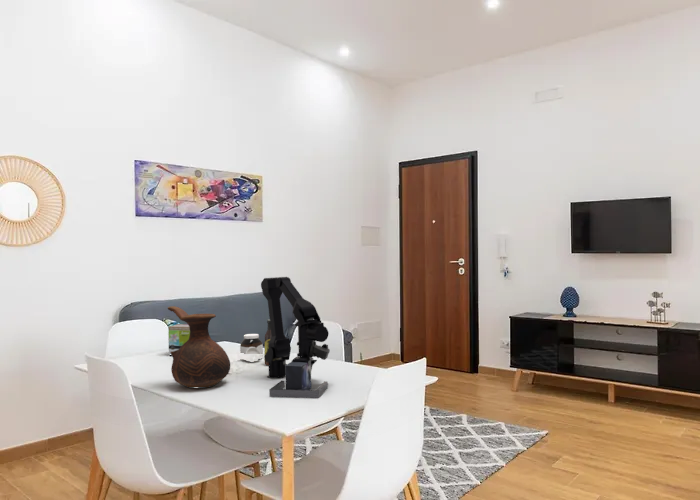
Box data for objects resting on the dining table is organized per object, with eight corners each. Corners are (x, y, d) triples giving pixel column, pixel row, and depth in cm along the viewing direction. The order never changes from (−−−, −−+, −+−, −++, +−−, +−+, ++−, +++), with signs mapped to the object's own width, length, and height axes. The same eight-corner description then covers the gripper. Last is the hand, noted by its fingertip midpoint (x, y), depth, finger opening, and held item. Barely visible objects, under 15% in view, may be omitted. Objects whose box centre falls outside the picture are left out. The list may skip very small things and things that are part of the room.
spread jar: (254, 357, 261) (254, 332, 261) (270, 359, 254) (270, 334, 254) (234, 361, 252) (234, 336, 252) (250, 364, 245) (250, 338, 245)
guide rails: (269, 396, 188) (269, 389, 188) (281, 387, 201) (281, 380, 201) (318, 398, 185) (318, 390, 185) (327, 388, 198) (327, 381, 198)
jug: (211, 375, 224) (210, 302, 224) (241, 383, 208) (239, 304, 209) (160, 385, 209) (159, 306, 209) (188, 395, 193) (186, 310, 193)
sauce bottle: (267, 366, 239) (266, 321, 239) (262, 364, 244) (261, 319, 244) (281, 364, 242) (280, 319, 242) (276, 362, 247) (275, 318, 247)
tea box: (168, 356, 269) (167, 326, 269) (177, 352, 279) (177, 323, 279) (197, 356, 266) (196, 326, 266) (205, 352, 276) (205, 323, 276)
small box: (302, 396, 188) (302, 365, 188) (284, 395, 189) (284, 365, 189) (312, 388, 198) (311, 359, 198) (295, 387, 200) (294, 359, 200)
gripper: (321, 343, 193) (322, 387, 193) (332, 335, 211) (333, 375, 211) (290, 343, 195) (291, 387, 195) (304, 334, 213) (305, 375, 213)
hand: (307, 380), depth 203 cm, fingers closed on small box
